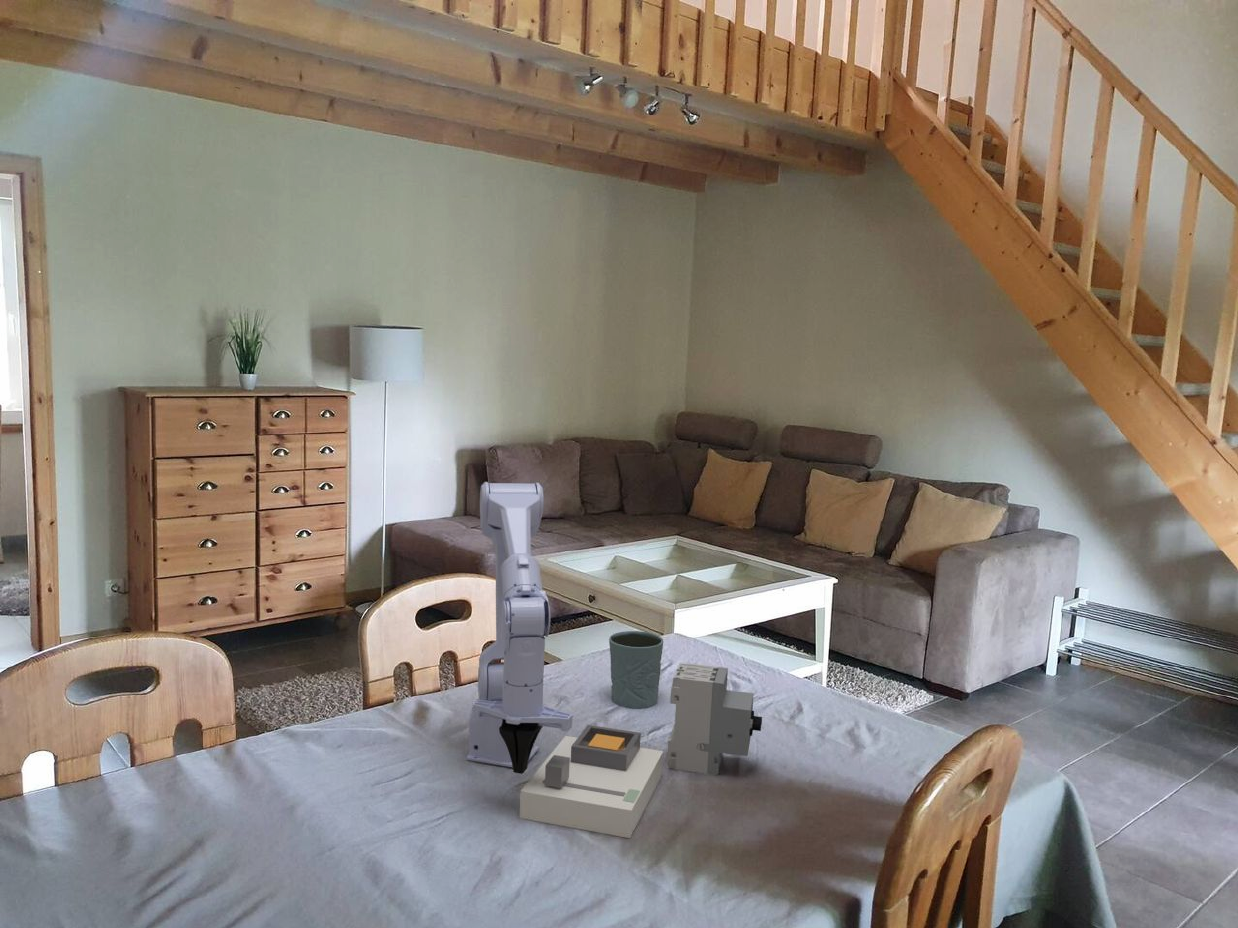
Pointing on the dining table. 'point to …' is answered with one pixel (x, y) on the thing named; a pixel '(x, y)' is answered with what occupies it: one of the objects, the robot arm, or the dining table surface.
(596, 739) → the button
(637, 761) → the slider control box
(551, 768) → the block
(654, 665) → the green cylindrical pot
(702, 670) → the circuit breaker
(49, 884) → the dining table surface
